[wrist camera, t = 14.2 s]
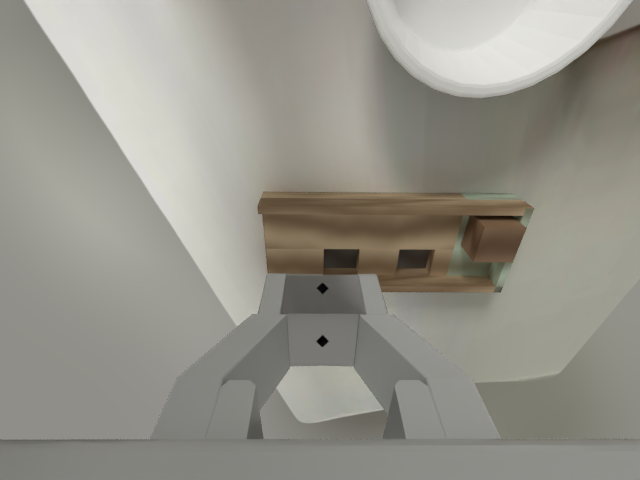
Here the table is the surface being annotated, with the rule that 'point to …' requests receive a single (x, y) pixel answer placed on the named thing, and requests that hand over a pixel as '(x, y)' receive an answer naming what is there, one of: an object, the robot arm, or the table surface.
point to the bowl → (490, 39)
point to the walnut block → (492, 238)
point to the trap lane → (385, 237)
